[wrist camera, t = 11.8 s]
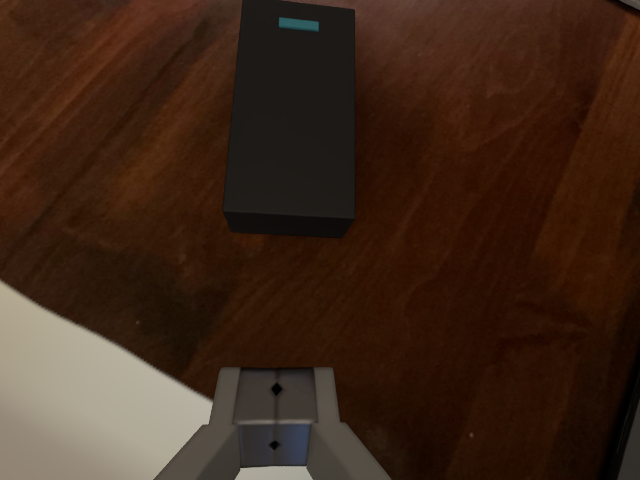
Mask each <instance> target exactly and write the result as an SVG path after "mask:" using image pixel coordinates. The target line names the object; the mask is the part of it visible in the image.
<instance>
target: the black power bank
mask: <svg viewBox="0 0 640 480" xmlns="http://www.w3.org/2000/svg"><path fill="white" fill-rule="evenodd" d="M222 210H223V213H224V215H225V218H226V220H227V222H228V225H229V227H230V229H231V231H232V232H240V233H259V234H278V235H298V236H317V237H336V238H342V237H343V236H344V234H345V233H346V232H347V230H348V229H349V227H350V226H351V224H352V223H353V221H354V220H355V10H354V9H348V8H339V7H331V6H323V5H314V4H306V3H298V2H290V1H281V0H243V2H242V12H241V22H240V33H239V43H238V53H237V64H236V74H235V84H234V95H233V105H232V115H231V126H230V136H229V147H228V157H227V167H226V178H225V188H224V198H223V209H222Z"/></svg>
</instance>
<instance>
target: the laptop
mask: <svg viewBox="0 0 640 480" xmlns="http://www.w3.org/2000/svg"><path fill="white" fill-rule="evenodd" d="M619 1H621V2H624V3H626V4H628V5H630V6H632V7H634V8H636V9H639V10H640V0H619Z"/></svg>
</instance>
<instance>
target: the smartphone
mask: <svg viewBox="0 0 640 480" xmlns="http://www.w3.org/2000/svg"><path fill="white" fill-rule="evenodd" d="M605 480H640V366H639V369H638V373H637V376H636V380H635V383H634V386H633V390H632V393H631V397H630V400H629V404H628V407H627V411H626V414H625V416H624V417H623V420H622V424H621V427H620V430H619V434H618V437H617V441H616V444H615V448H614V451H613V455H612V458H611V462H610V465H609V469H608V472H607V475H606V479H605Z"/></svg>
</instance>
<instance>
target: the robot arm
mask: <svg viewBox="0 0 640 480" xmlns="http://www.w3.org/2000/svg"><path fill="white" fill-rule="evenodd" d="M267 466H307V470H308V472H309V473H310V475H311V477H312V479H313V480H392V479H391V478H390V477H389V475H388V474H387V473H386V472H385V471H384V469H383V468H382V467H381V466H380V464H379V463H378V462H377V461H376V459H375V458H374V457H373V456H372V455H371V453H370V452H369V451H368V450H367V448H366V447H365V446H364V445H363V443H362V442H361V441H360V440H359V439H358V437H357V436H356V435H355V434H354V432H353V431H352V430H351V429H350V427H349V426H348V425H347V424H346V423H341V422H340V419H339V411H338V403H337V396H336V388H335V381H334V373H333V369H332V368H331V367H314V368H313V367H282V368H251V367H222V368H221V370H220V372H219V376H218V381H217V386H216V391H215V396H214V401H213V406H212V411H211V416H210V420H209V424H208V425H202V426H201V427H200V428H199V430H198V431H197V432H196V433H195V434H194V435H193V436H192V437H191V438H190V440H189V441H188V442H187V443H186V444H185V445H184V446H183V448H181V450H180V451H179V452H178V453H177V454H176V455H175V456H174V457H173V458H172V460H171V461H170V462H169V463H168V464H167V465H166V466H165V467H164V468H163V470H162V471H161V472H160V473H159V474H158V475H157V476H156V477H155V479H154V480H235V478H236V476H237V475H238V473H239V471H240V468H249V467H267Z"/></svg>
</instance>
